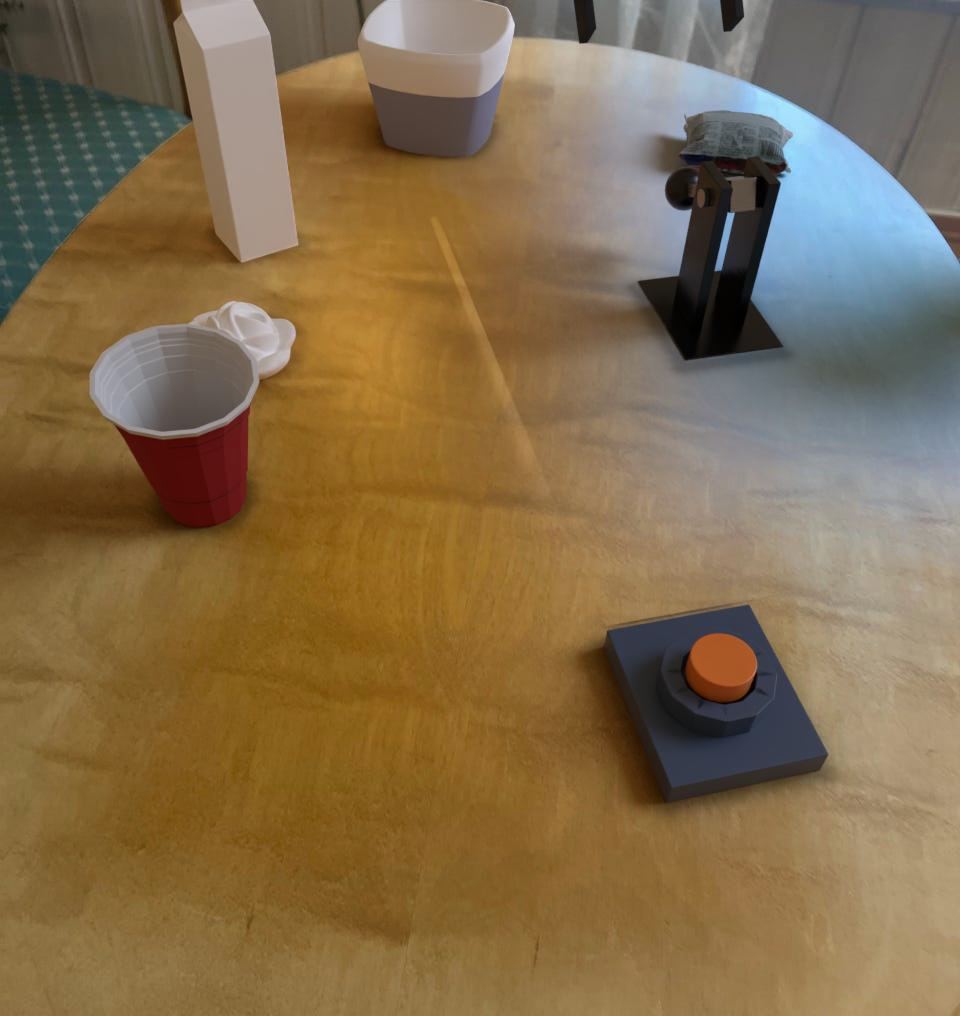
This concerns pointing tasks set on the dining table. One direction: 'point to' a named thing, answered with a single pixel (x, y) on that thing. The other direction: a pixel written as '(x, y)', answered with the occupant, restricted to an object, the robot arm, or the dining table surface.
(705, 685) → the button
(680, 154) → the packaged food
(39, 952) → the dining table surface
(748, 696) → the button box
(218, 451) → the plastic cup
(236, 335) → the rose
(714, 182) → the bracket
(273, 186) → the milk
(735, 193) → the lever
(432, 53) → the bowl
